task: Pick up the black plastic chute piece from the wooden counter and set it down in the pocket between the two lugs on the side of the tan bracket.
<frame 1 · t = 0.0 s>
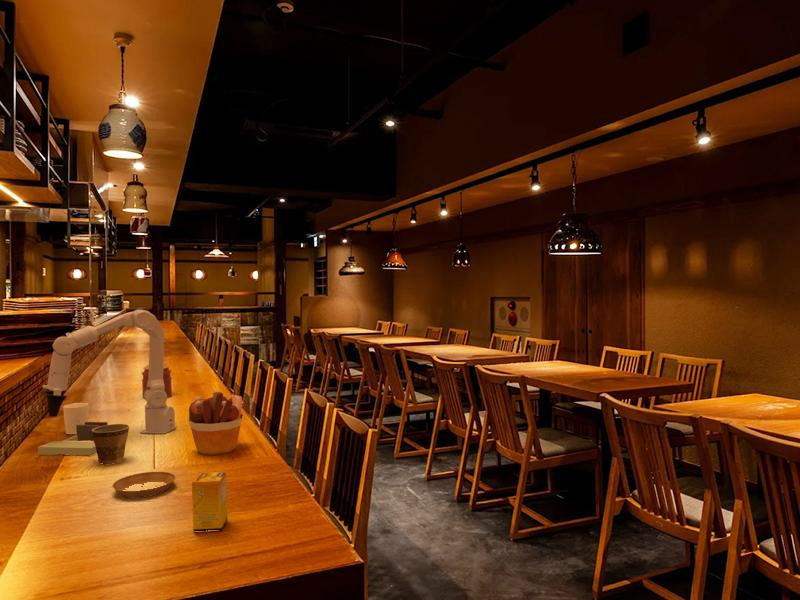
hand: (52, 414, 186), 11 cm above the counter, tool pointing down, fingers open, 7 cm apart
ceramic cup: (107, 461, 169), on the counter
plant saucer: (144, 491, 145), on the counter
canister: (157, 397, 267), on the counter
white cup: (76, 433, 203), on the counter
chute: (92, 439, 195), on the counter
tan bracket: (79, 448, 182), on the counter
supplement box: (210, 527, 122), on the counter
bucket of meat: (217, 451, 178), on the counter
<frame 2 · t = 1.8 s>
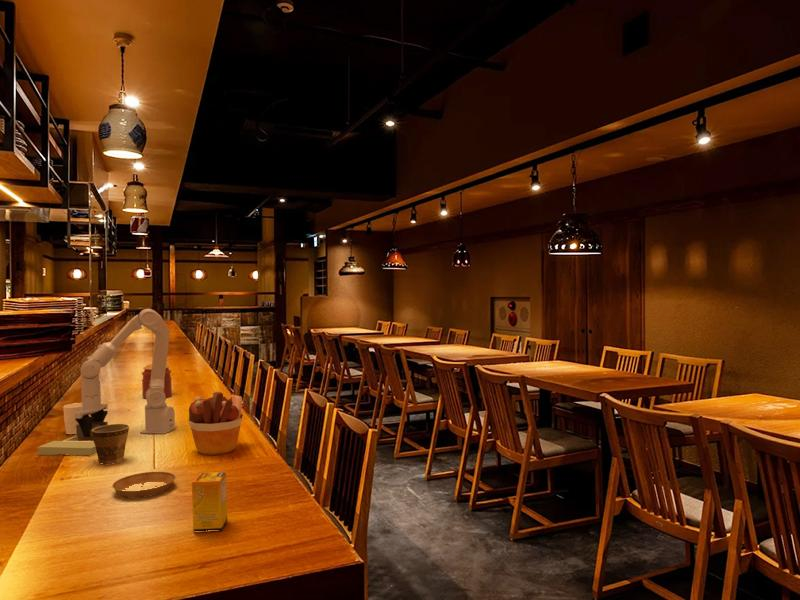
hand: (92, 434, 195), 1 cm above the counter, tool pointing down, fingers closed on chute, 5 cm apart
chute: (92, 438, 195), on the counter, touching gripper
everything else where it was.
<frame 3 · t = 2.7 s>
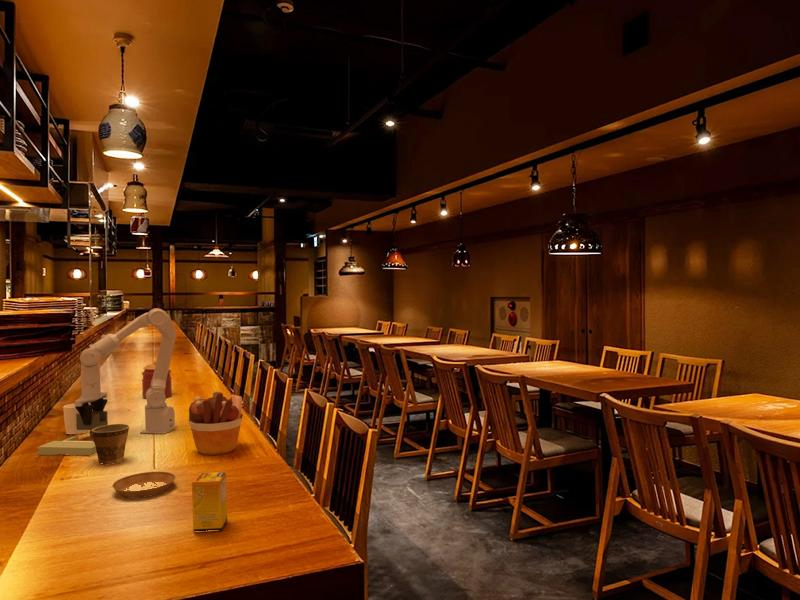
hand: (92, 422, 194), 5 cm above the counter, tool pointing down, fingers closed on chute, 5 cm apart
chute: (92, 428, 194), point 4 cm above the counter, touching gripper
everything else where it was.
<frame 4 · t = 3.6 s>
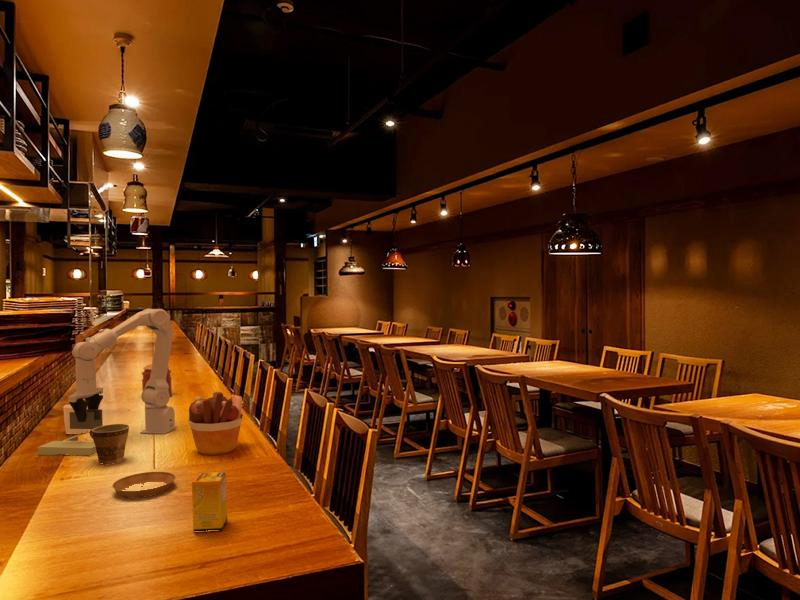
hand: (87, 419, 186), 9 cm above the counter, tool pointing down, fingers closed on chute, 5 cm apart
chute: (86, 427, 186), point 6 cm above the counter, touching gripper
everything else where it was.
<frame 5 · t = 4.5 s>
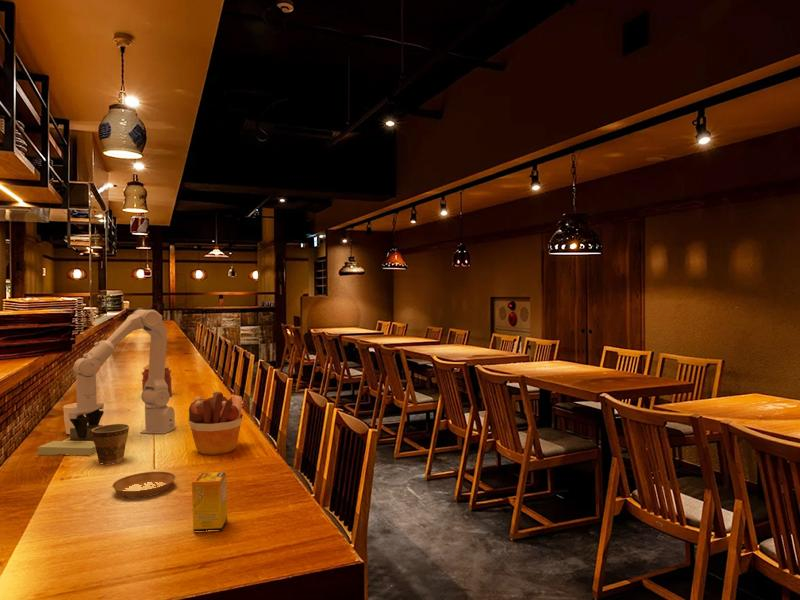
hand: (87, 435, 186), 3 cm above the counter, tool pointing down, fingers closed on chute, 5 cm apart
chute: (86, 443, 186), point 1 cm above the counter, touching gripper
everything else where it was.
when the fingers open (3 cm above the counter, at t = 5.0 s): chute stays where it is, on the counter.
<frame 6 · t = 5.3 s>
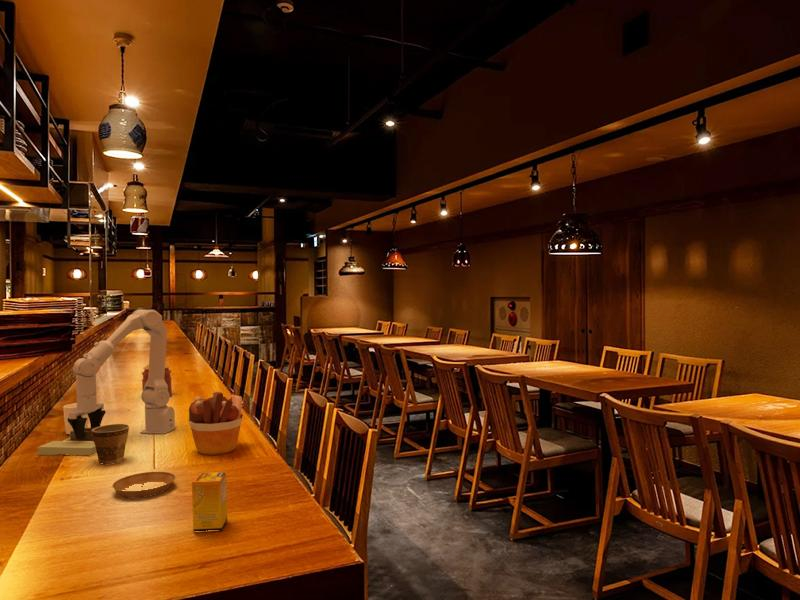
hand: (87, 435, 186), 3 cm above the counter, tool pointing down, fingers open, 7 cm apart
chute: (87, 446, 186), on the counter
everything else where it was.
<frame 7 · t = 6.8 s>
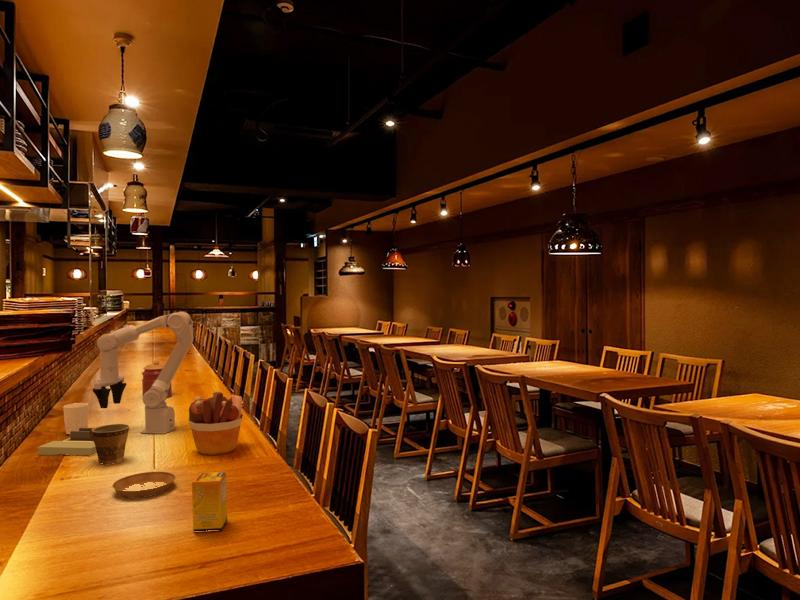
hand: (110, 405, 201), 10 cm above the counter, tool pointing down, fingers open, 7 cm apart
nothing on the counter moved.
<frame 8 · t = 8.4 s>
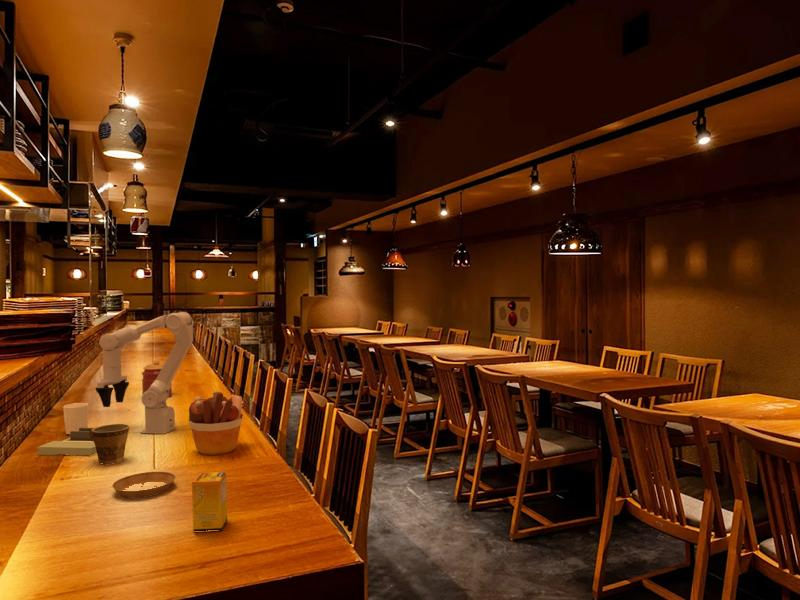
hand: (113, 404, 203), 10 cm above the counter, tool pointing down, fingers open, 7 cm apart
nothing on the counter moved.
at the end: chute 0.4 cm from the target spot, on the counter; chute tilted 0°; the gripper is holding nothing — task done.
